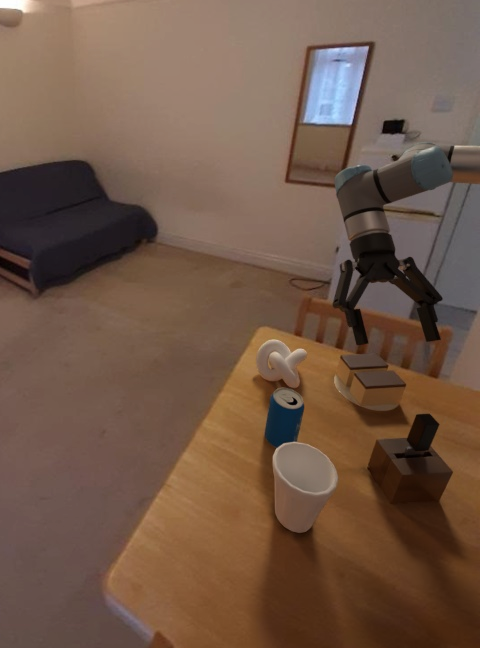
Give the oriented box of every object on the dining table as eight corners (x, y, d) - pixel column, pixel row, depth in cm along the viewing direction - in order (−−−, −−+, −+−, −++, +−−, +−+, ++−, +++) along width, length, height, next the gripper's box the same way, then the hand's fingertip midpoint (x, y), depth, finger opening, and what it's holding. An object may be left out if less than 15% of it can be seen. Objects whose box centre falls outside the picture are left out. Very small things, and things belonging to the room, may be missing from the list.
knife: (406, 477, 78) (432, 413, 70) (414, 489, 76) (442, 424, 68) (388, 478, 78) (413, 414, 70) (396, 490, 76) (423, 425, 68)
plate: (395, 380, 101) (396, 377, 100) (402, 421, 90) (403, 418, 89) (333, 365, 107) (334, 362, 106) (332, 402, 95) (333, 399, 95)
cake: (371, 371, 103) (376, 353, 100) (399, 404, 93) (406, 384, 90) (335, 373, 102) (340, 355, 100) (360, 406, 93) (366, 386, 90)
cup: (280, 479, 78) (290, 431, 73) (333, 516, 72) (348, 467, 66) (252, 514, 72) (261, 465, 67) (307, 559, 66) (322, 509, 60)
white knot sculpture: (247, 381, 102) (251, 353, 98) (261, 355, 111) (265, 328, 107) (294, 399, 96) (300, 370, 93) (305, 369, 105) (310, 342, 102)
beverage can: (285, 458, 82) (294, 415, 77) (258, 438, 87) (264, 396, 82) (302, 440, 86) (311, 398, 81) (274, 422, 91) (282, 381, 85)
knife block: (411, 464, 80) (422, 436, 77) (439, 501, 73) (453, 472, 70) (366, 467, 80) (376, 439, 77) (390, 504, 73) (402, 475, 70)
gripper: (416, 241, 86) (447, 341, 79) (301, 247, 86) (323, 348, 79) (442, 228, 79) (479, 336, 72) (318, 233, 79) (343, 343, 72)
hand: (398, 342), depth 76 cm, fingers open, 13 cm apart
